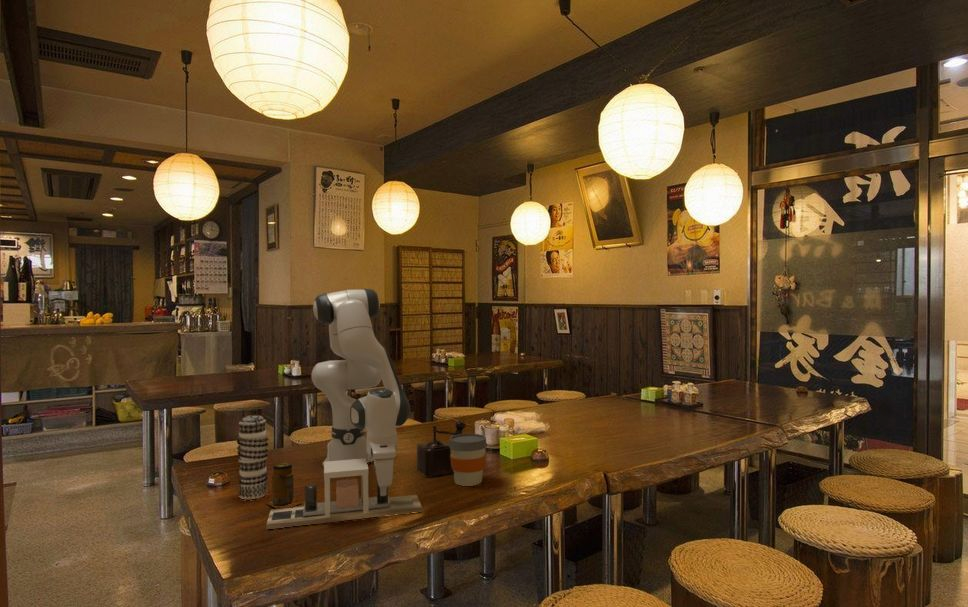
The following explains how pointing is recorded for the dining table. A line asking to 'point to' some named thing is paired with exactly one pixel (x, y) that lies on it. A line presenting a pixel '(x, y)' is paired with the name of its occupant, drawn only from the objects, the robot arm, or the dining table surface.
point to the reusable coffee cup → (468, 458)
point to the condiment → (282, 484)
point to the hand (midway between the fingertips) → (382, 492)
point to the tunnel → (345, 470)
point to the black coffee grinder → (436, 454)
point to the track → (340, 513)
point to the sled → (342, 499)
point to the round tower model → (252, 457)
